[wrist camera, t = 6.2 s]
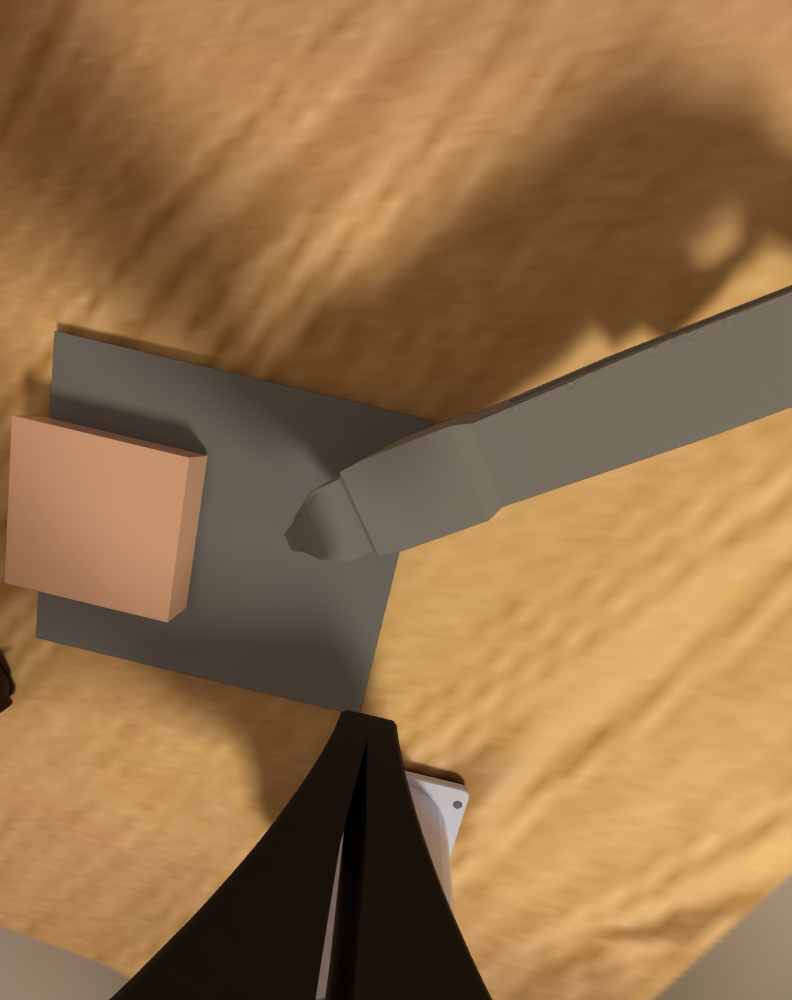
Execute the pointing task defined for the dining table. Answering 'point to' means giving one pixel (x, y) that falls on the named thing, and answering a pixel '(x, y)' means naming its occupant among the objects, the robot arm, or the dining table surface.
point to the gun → (557, 434)
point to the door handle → (4, 691)
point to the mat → (237, 525)
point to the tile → (102, 517)
